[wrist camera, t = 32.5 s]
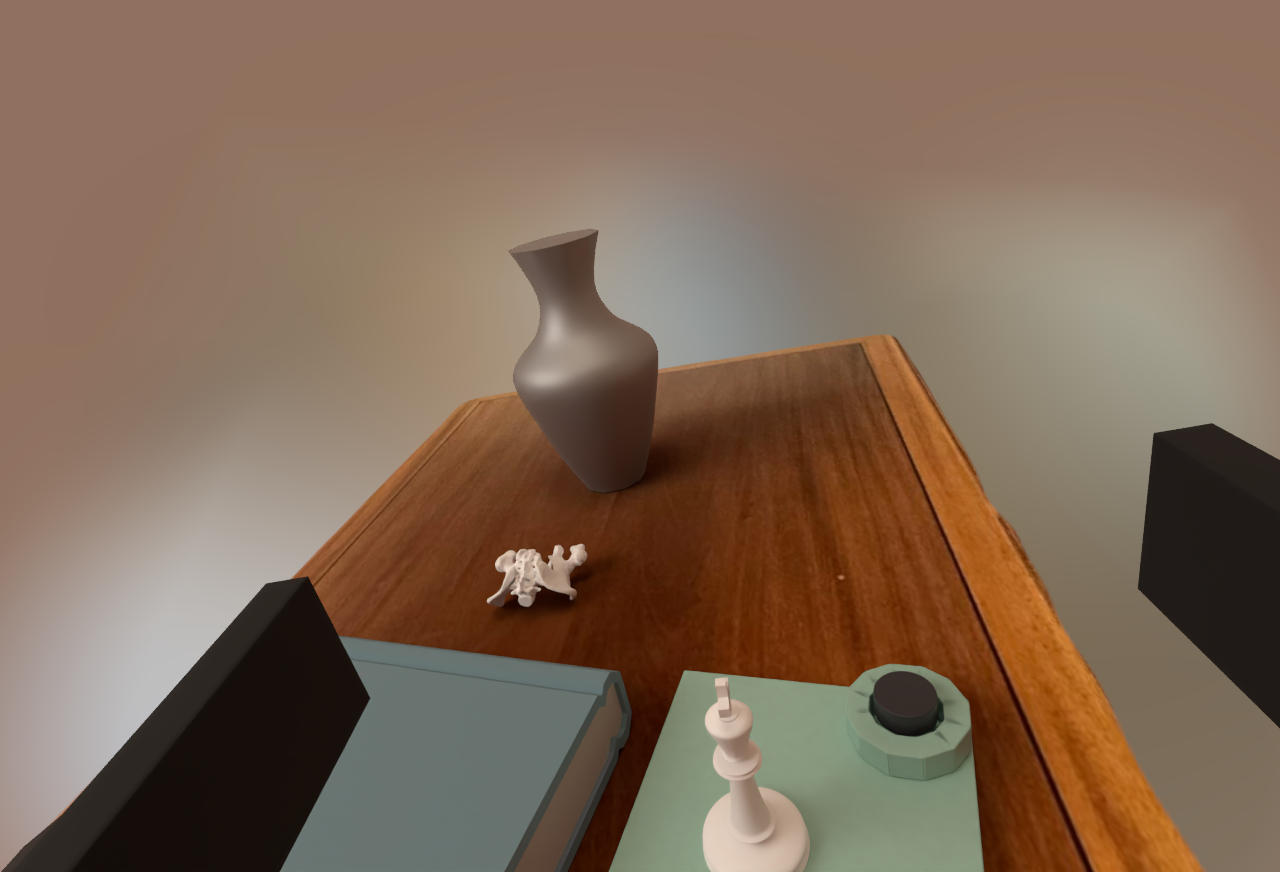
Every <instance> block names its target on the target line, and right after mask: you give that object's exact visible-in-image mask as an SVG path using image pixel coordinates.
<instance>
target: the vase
mask: <svg viewBox="0 0 1280 872" xmlns="http://www.w3.org/2000/svg"><path fill="white" fill-rule="evenodd" d="M597 235H598V230H594V229H586V230H580V231H573V232H567V233H563V234H559V235H555V236H550V237H546V238H542V239H539V240H536V241H532V242H529V243H526V244H523V245H520V246H518V247H516V248H514V249H511V250H509V253H510V254H511V255H512V257H513V258H514V259H515V260H516V262H517V263H518V265H519V266H520V268H521V269H522V271H523V272H524V274H525V275H526V277H527V278H528V280H529V282H530V283H531V285H532V287H533V289H534V291H535V293H536V295H537V297H538V301H539V305H540V322H539V327H538V331H537V334H536V336H535V338H534V339H533V341H532V342H531V344H530V345H529V346H528V348H527V349H526V350H525V351H524V353H523V354H522V355H521V357H520V358H519V360H518V362H517V363H516V366H515V368H514V373H513V381H514V384H515V387H516V390H517V392H518V394H519V396H520V398H521V400H522V401H523V403H524V405H525V406H526V408H527V409H528V411H529V412H530V414H531V415H532V417H533V418H534V420H535V421H536V423H537V424H538V426H539V427H540V428H541V430H542V431H543V433H544V434H545V436H546V437H547V439H548V440H549V441H550V443H551V444H552V446H553V447H554V448H555V450H556V451H557V452H558V454H559V455H560V456H561V458H562V459H563V460H564V461H565V463H566V464H567V465H568V466H569V467H570V469H571V470H572V471H573V472H574V473H575V474H576V475H577V477H578V478H579V479H580V480H581V481H582V482H583V483H584V484H585V486H586V487H587V488H588V489H589V491H596V492H603V493H607V492H612V491H616V490H621V489H625V488H627V487H629V486H631V485H632V484H634V483H636V482H638V481H639V480H641V478H642V476H643V475H644V473H645V471H646V463H647V458H648V454H649V449H650V444H651V438H652V431H653V423H654V413H655V401H656V389H657V376H658V351H657V346H656V344H655V342H654V340H653V338H652V337H651V336H650V335H649V333H647V332H646V331H644V330H643V329H641V328H640V327H637V326H635V325H633V324H631V323H629V322H626V321H624V320H622V319H619V318H618V317H616V316H615V315H613V314H612V313H611V312H610V311H609V310H608V309H607V307H606V306H605V305H604V303H603V302H602V301H601V299H600V297H599V295H598V293H597V291H596V287H595V283H594V258H595V248H596V242H597Z"/></svg>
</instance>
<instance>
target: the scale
mask: <svg viewBox="0 0 1280 872" xmlns="http://www.w3.org/2000/svg"><path fill="white" fill-rule="evenodd" d="M895 671H908V672H913V673H916V674H918V675H921V676H923V677H924V678H926V679H927V680H928V681H929V682H930V683H931V684H932V685H933V686H934V688H935V690H936V692H937V698H938V721H937V723H936V725H935V727H934V728H933V729H932V730H930V731H929V732H927V733H925V734H923V735H919V736H904V735H899V734H896V733H894V732H892V731H890V730H888V729H887V728H886V727H884V726H883V725H882V724H881V723H880V721H879V720H878V718H877V716H876V712H875V703H874V692H873V690H874V686H875V684H876V682H877V680H878V679H879V678H880V677H882V676H883V675H885V674H887V673H890V672H895ZM724 677H727V678H728V683H729V694H730V699H735V700H739V701H741V702H743V703H745V704H746V705H747V706H748V707H749V708H750V710H751V712H752V715H753V725H752V730H751V732H750V735H749V739H751V740H753V741H754V742H755V743H756V744H757V746H758V747H759V749H760V750H761V753H762V765H761V767H760V769H759V771H758V772H757V773H756V774H755V775H754V778H755V781H756V783H757V786H758V787H764V788H769V789H772V790H774V791H777V792H779V793H781V794H782V795H784V796H785V797H787V798H788V799H789V800H790V801H791V802H792V803H793V804H794V805H795V806H796V807H797V809H798V810H799V812H800V813H801V815H802V818H803V820H804V823H805V825H806V827H807V830H808V834H809V839H810V853H809V858H808V861H807V864H806V867H805V869H804V871H803V872H984V863H983V853H982V842H981V831H980V820H979V810H978V799H977V788H976V777H975V766H974V756H973V745H972V729H971V717H970V706H969V702H968V699H966V698H965V697H964V696H963V695H962V694H961V692H960V691H959V690H958V689H957V688H956V686H955V685H954V684H953V683H952V682H951V681H950V680H949V679H948V678H945V677H943V676H941V675H939V674H937V673H935V672H933V671H931V670H929V669H927V668H924V667H921V666H911V665H899V664H888V665H884V666H881V667H878V668H875V669H871V670H868V671H865V672H864V673H863V674H862V675H861V676H860V677H859V678H858V679H857V680H856V681H855V682H854V683H853V684H852V685H851V686H850V687H844V686H834V685H824V684H814V683H804V682H794V681H785V680H775V679H765V678H755V677H745V676H735V675H726V674H716V673H706V672H696V671H686V670H685V671H684V673H683V675H682V678H681V681H680V683H679V686H678V689H677V691H676V694H675V697H674V699H673V702H672V705H671V707H670V710H669V713H668V715H667V718H666V721H665V723H664V726H663V729H662V731H661V734H660V737H659V739H658V742H657V745H656V747H655V750H654V753H653V755H652V758H651V761H650V763H649V766H648V769H647V771H646V774H645V777H644V779H643V782H642V784H641V787H640V790H639V792H638V795H637V798H636V800H635V803H634V806H633V808H632V811H631V814H630V816H629V819H628V822H627V824H626V827H625V830H624V832H623V835H622V838H621V840H620V843H619V846H618V848H617V851H616V854H615V856H614V859H613V862H612V864H611V867H610V870H609V872H711V871H710V870H709V868H708V866H707V863H706V860H705V857H704V852H703V838H702V835H703V827H704V823H705V820H706V817H707V815H708V813H709V811H710V810H711V808H712V807H713V805H714V804H715V803H716V802H717V801H718V800H719V799H720V798H722V797H723V796H724V795H726V794H728V793H729V792H730V781H729V780H727V779H725V778H723V777H721V776H720V775H719V774H718V773H717V772H716V770H715V768H714V765H713V755H714V751H715V749H716V747H717V745H718V743H717V742H716V741H715V740H714V739H713V738H712V736H711V735H710V734H709V732H708V730H707V728H706V726H705V716H706V713H707V711H708V710H709V708H710V707H711V706H712V705H714V704H715V703H717V702H718V697H717V693H716V688H715V678H724Z"/></svg>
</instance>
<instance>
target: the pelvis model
mask: <svg viewBox="0 0 1280 872" xmlns="http://www.w3.org/2000/svg"><path fill="white" fill-rule="evenodd" d="M535 551H536V550H535V549H530V550H526V549H521V550H519V552H518V553H517V554H516V553H515V552H514V551H511V550H509V551H507V552H506V553H505V554H504V555H502V556H500V557H499V558H498V559H497V561H496V563H495V567H496V569H497V570H498V571H499V572H506V577H505V579H504V581H503V585H502V587H501V590H500V591H499V592H498V593H496V594H495V595H493V596H492V597H490V598H488V599H487V603H488V604H490V605H493V606H498V607H502V606H503V605H504V603H505V602H504V599H505V596H506V595H507V594H508V593H509V592H510V591H511V590H513V589H514V591H512V592H511V595H514V594H517V596H519V598H518V602H519V603H520V605H522V606H525V607H529V606H531V604H532V603H533V602H534V600H535V595H536V593H537V592H539V591H541V588H537V587H538V585H541V586H545V587H546V588H547V589H549V590H552V591H556V592H560V593H565V594H567V595H570V600H573V599H574V598H575V597H576V595H577V591H576V590H575V589H573V588H571V587H570V576H569V574H570V573H571V572H572V571H573V570H574V568H575V567H576V566H581V565H582V564H583V563H584V562H585V561H586V559H587V553H586V551H585V546H584V545H583V544H579V545H577V546H571V548H570V551H571V552H572V555H571V557H570V558H569V560H566V561H565V560H564V559H563V558H562V554H563V552H564V550H563V548H562V546H560V545H557V546H556V547H555V548H554V552H553V555H552V556H548V558H549V559H550V561H549V563H548V565H547V564H546V563H545V562H542V559H541V556H540V554H539V553H537V552H535ZM534 554H536V555H534ZM515 559H517V560H516V563H514V560H515ZM552 565H553V570H552V569H551V567H552ZM533 566H535V568H533ZM557 585H558V586H557ZM515 588H516V589H515Z"/></svg>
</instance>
